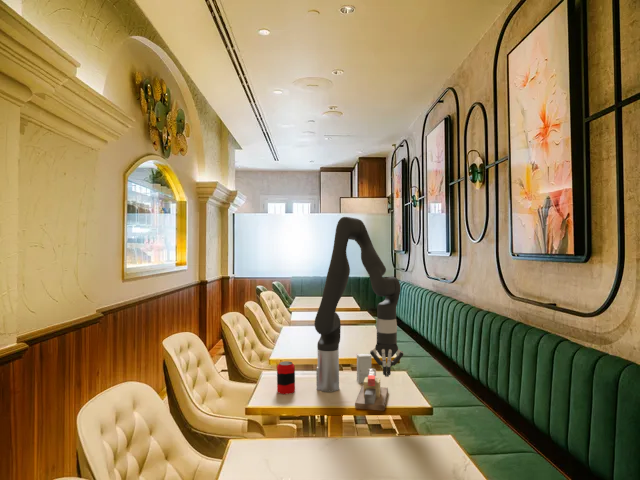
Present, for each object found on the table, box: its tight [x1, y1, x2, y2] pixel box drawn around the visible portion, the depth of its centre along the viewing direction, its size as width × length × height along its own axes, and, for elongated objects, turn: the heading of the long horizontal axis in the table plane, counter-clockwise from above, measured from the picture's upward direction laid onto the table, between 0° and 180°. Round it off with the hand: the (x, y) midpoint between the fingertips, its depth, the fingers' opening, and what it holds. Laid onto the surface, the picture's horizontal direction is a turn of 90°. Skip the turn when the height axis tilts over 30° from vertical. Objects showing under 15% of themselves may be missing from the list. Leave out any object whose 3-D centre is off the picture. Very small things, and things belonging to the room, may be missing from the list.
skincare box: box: [356, 353, 372, 384], centre depth 188 cm, size 6×4×12 cm
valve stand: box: [354, 377, 389, 411], centre depth 167 cm, size 11×19×10 cm, turn 166°
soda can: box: [276, 361, 296, 395], centre depth 177 cm, size 8×8×12 cm
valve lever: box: [368, 367, 377, 386], centre depth 162 cm, size 13×3×3 cm, turn 172°
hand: (386, 376), depth 156 cm, fingers closed
